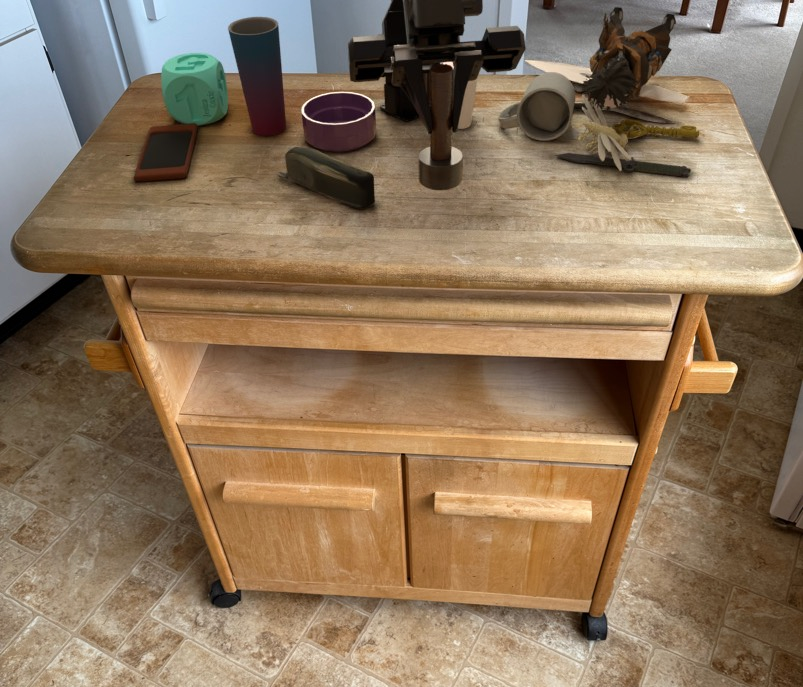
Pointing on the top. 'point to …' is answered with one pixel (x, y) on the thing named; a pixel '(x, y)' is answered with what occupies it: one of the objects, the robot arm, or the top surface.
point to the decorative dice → (194, 88)
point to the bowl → (339, 121)
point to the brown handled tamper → (441, 136)
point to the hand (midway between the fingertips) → (442, 131)
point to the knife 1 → (575, 75)
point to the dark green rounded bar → (330, 177)
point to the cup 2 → (466, 102)
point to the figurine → (626, 60)
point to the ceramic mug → (542, 108)
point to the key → (653, 130)
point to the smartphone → (166, 152)
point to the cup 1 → (260, 72)
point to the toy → (603, 134)
